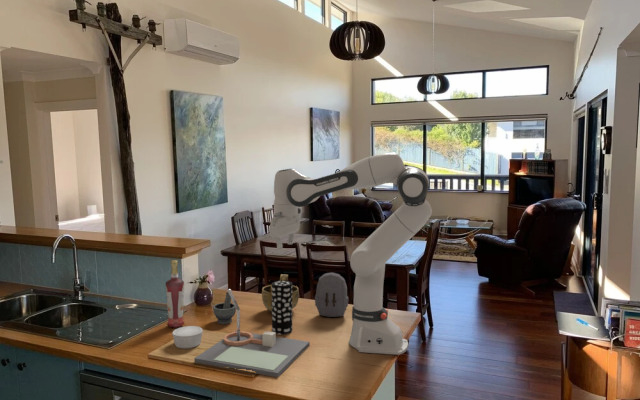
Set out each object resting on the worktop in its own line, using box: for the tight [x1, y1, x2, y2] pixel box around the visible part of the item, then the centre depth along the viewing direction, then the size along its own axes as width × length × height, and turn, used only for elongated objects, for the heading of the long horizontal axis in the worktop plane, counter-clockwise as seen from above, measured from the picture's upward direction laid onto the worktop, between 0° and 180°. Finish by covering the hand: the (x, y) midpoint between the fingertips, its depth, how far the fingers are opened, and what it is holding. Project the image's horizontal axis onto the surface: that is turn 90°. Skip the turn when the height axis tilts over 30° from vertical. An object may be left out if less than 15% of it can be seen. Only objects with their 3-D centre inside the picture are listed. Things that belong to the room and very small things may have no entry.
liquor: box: [165, 259, 185, 329], centre depth 202 cm, size 7×7×28 cm
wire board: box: [194, 330, 311, 378], centre depth 176 cm, size 32×28×2 cm
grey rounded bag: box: [314, 272, 349, 318], centre depth 215 cm, size 15×8×20 cm, turn 81°
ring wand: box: [223, 330, 277, 347], centre depth 183 cm, size 20×11×4 cm, turn 70°
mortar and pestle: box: [212, 291, 237, 325], centre depth 209 cm, size 11×9×12 cm
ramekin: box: [172, 325, 204, 349], centre depth 184 cm, size 11×11×5 cm
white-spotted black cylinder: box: [271, 280, 293, 336], centre depth 197 cm, size 8×8×20 cm
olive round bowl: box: [261, 273, 300, 313], centre depth 222 cm, size 22×17×15 cm
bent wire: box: [227, 288, 241, 341], centre depth 181 cm, size 1×8×22 cm, turn 159°
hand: (285, 246), depth 187 cm, fingers open, 8 cm apart
